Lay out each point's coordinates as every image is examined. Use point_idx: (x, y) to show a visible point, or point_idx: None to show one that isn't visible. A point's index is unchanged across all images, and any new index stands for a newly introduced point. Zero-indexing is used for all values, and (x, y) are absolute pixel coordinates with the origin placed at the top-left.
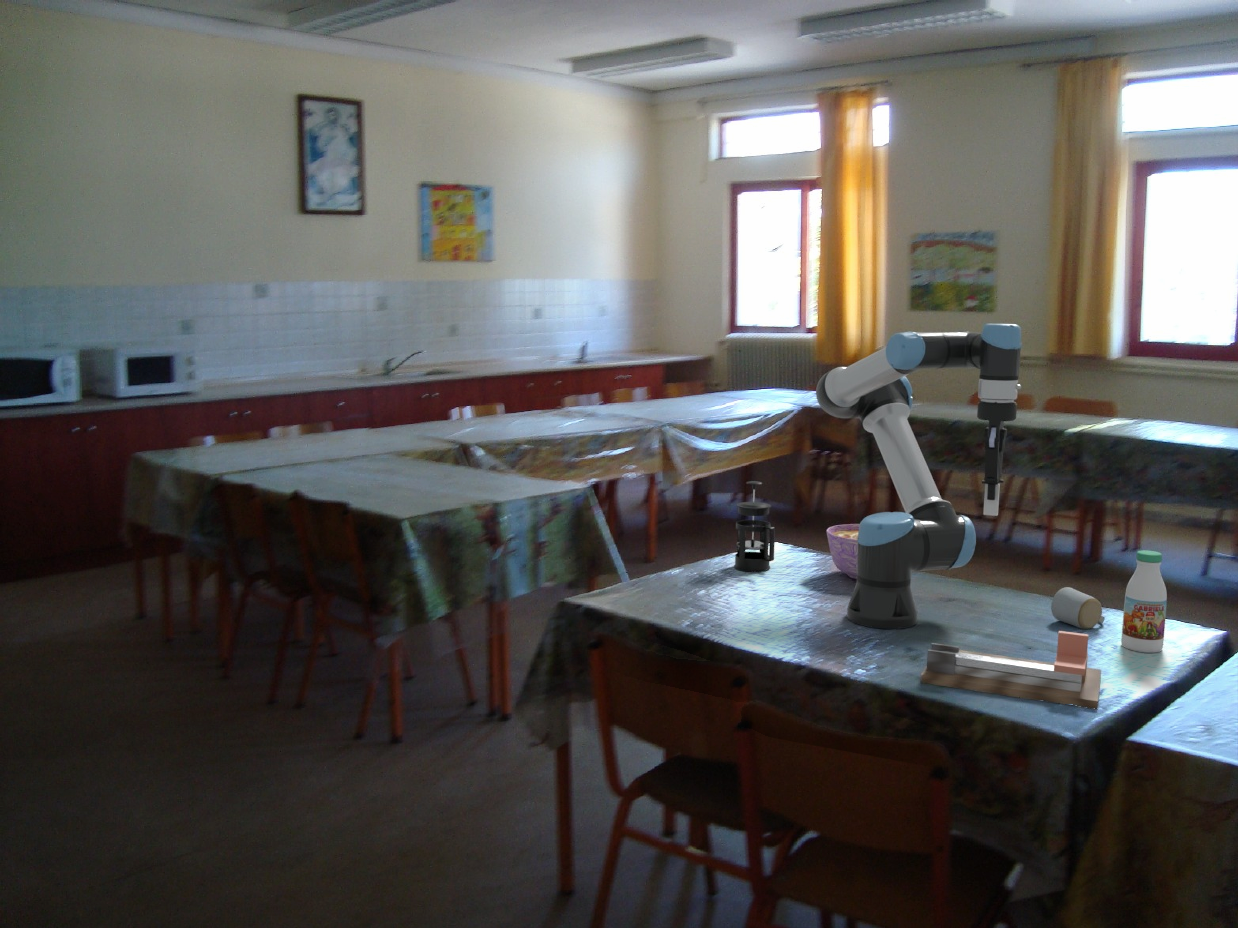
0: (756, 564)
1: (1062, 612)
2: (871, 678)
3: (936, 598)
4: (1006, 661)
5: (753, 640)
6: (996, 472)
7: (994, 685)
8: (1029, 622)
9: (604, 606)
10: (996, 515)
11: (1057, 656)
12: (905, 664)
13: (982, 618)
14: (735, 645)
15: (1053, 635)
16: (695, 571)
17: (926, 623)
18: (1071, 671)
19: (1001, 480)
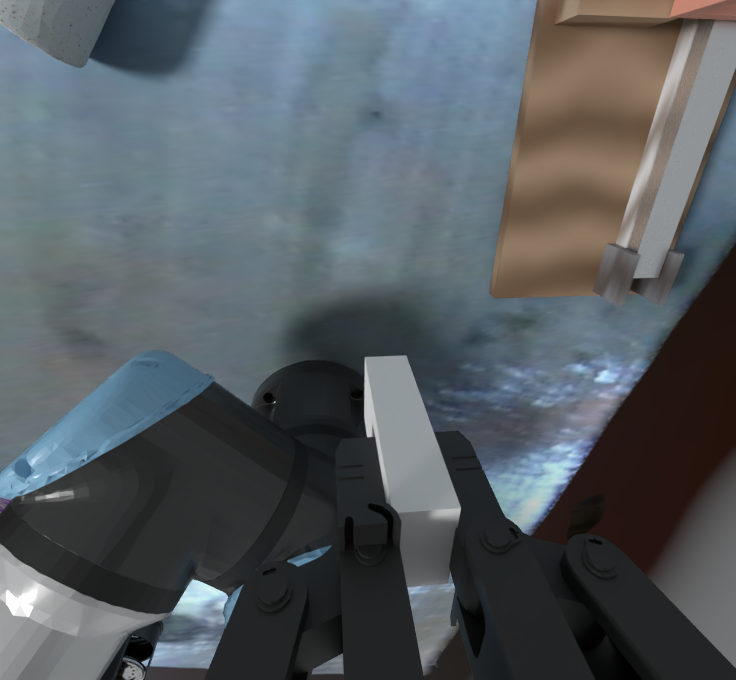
0: (148, 629)
1: (101, 25)
2: (636, 355)
3: (91, 364)
4: (689, 147)
5: (504, 514)
6: (715, 659)
7: (704, 162)
8: (146, 133)
9: (427, 653)
10: (407, 359)
11: (722, 11)
12: (559, 327)
13: (188, 250)
14: (531, 522)
15: (232, 55)
16: (210, 656)
17: (298, 345)
18: None
19: (399, 532)
